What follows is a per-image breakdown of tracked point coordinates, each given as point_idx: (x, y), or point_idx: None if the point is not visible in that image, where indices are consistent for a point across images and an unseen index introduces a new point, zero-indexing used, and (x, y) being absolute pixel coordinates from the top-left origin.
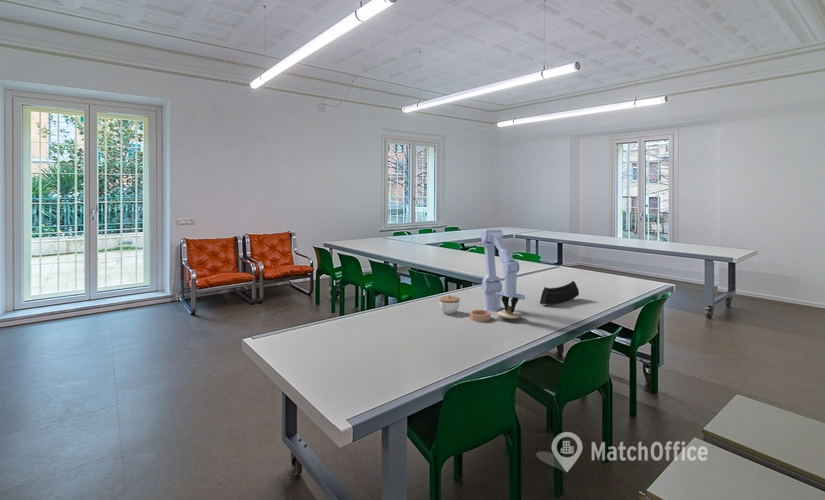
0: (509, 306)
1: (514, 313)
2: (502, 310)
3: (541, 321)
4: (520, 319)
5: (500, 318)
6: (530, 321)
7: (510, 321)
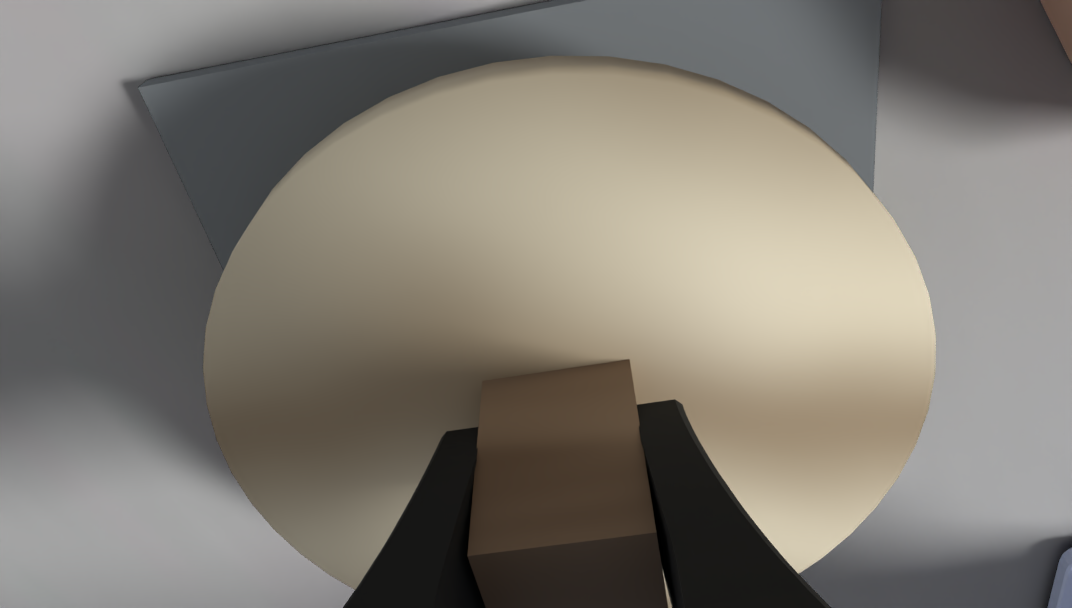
0: (593, 605)
1: None
2: (862, 511)
3: (43, 574)
4: None
5: None
6: (164, 472)
7: None
